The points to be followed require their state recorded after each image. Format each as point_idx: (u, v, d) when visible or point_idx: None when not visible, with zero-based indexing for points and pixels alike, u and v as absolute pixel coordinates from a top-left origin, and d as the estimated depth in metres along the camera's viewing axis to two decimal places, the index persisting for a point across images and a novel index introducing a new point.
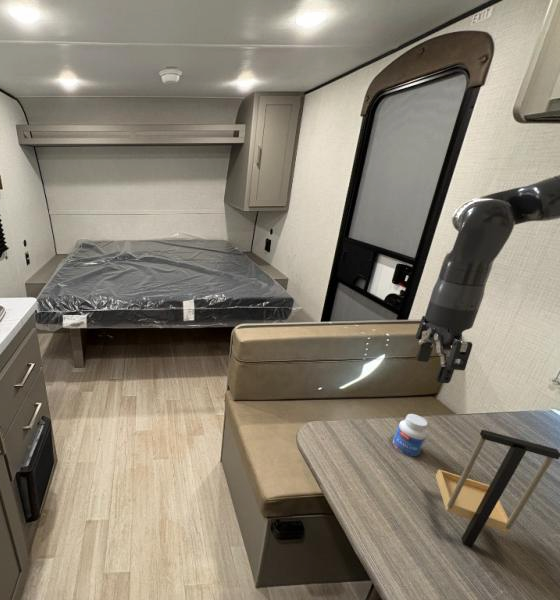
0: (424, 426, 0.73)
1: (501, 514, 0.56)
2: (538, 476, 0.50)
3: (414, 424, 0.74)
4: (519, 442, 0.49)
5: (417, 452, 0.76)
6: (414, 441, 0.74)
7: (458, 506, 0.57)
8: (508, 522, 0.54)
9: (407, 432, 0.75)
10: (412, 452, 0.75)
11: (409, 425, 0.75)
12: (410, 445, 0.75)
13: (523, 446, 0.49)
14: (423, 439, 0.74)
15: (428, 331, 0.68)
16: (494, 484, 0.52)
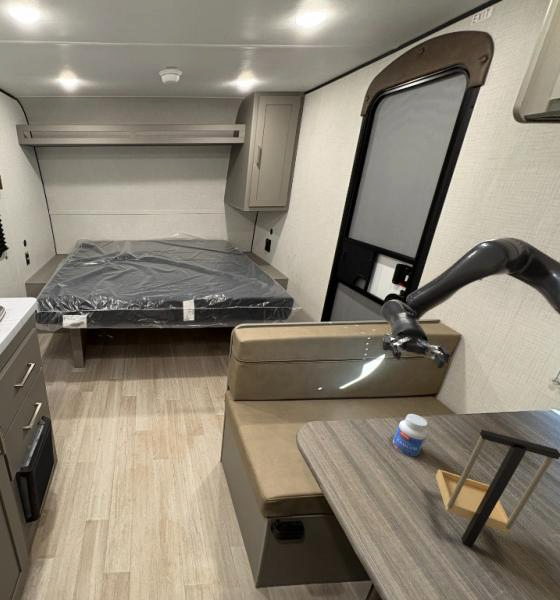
0: (424, 426, 0.73)
1: (501, 514, 0.56)
2: (538, 476, 0.50)
3: (414, 424, 0.74)
4: (519, 442, 0.49)
5: (417, 452, 0.76)
6: (414, 441, 0.74)
7: (458, 506, 0.57)
8: (508, 522, 0.54)
9: (407, 432, 0.75)
10: (412, 452, 0.75)
11: (409, 425, 0.75)
12: (410, 445, 0.75)
13: (523, 446, 0.49)
14: (423, 439, 0.74)
15: None
16: (494, 484, 0.52)
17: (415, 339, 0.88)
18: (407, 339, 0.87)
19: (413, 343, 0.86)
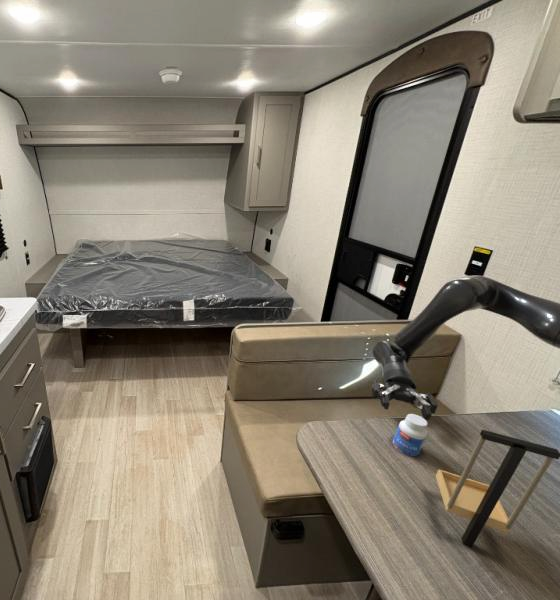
0: (424, 426, 0.73)
1: (501, 514, 0.56)
2: (538, 476, 0.50)
3: (414, 424, 0.74)
4: (519, 442, 0.49)
5: (417, 452, 0.76)
6: (414, 441, 0.74)
7: (458, 506, 0.57)
8: (508, 522, 0.54)
9: (407, 432, 0.75)
10: (412, 452, 0.75)
11: (409, 425, 0.75)
12: (410, 445, 0.75)
13: (523, 446, 0.49)
14: (423, 439, 0.74)
15: None
16: (494, 484, 0.52)
17: (404, 387, 0.91)
18: (396, 387, 0.89)
19: (401, 391, 0.89)
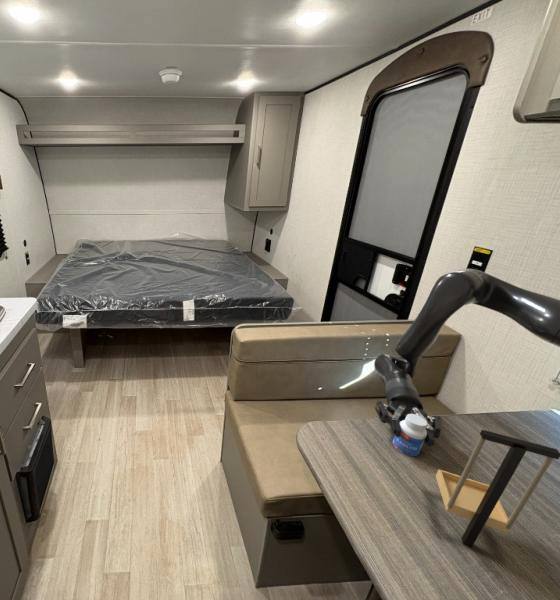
0: (423, 426, 0.73)
1: (501, 514, 0.56)
2: (538, 476, 0.50)
3: (414, 424, 0.74)
4: (519, 442, 0.49)
5: (417, 452, 0.75)
6: (413, 441, 0.74)
7: (458, 506, 0.57)
8: (508, 522, 0.54)
9: (406, 432, 0.75)
10: (412, 452, 0.75)
11: (409, 425, 0.75)
12: (410, 445, 0.75)
13: (523, 446, 0.49)
14: (423, 439, 0.74)
15: None
16: (494, 484, 0.52)
17: (409, 407, 0.83)
18: (401, 408, 0.81)
19: (407, 412, 0.81)
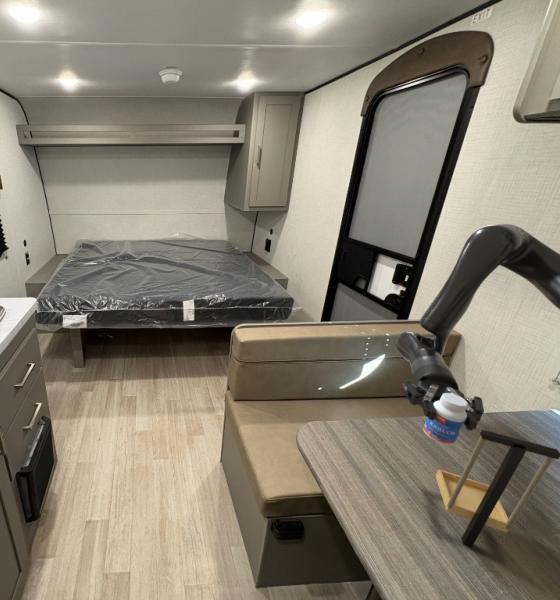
0: (463, 407, 0.62)
1: (501, 514, 0.56)
2: (538, 476, 0.50)
3: (452, 405, 0.63)
4: (519, 442, 0.49)
5: (455, 437, 0.65)
6: (451, 424, 0.64)
7: (458, 506, 0.57)
8: (508, 522, 0.54)
9: (443, 414, 0.64)
10: (449, 437, 0.65)
11: (445, 406, 0.64)
12: (447, 429, 0.64)
13: (523, 446, 0.49)
14: (462, 422, 0.63)
15: None
16: (494, 484, 0.52)
17: (443, 386, 0.72)
18: (433, 387, 0.71)
19: (440, 393, 0.70)
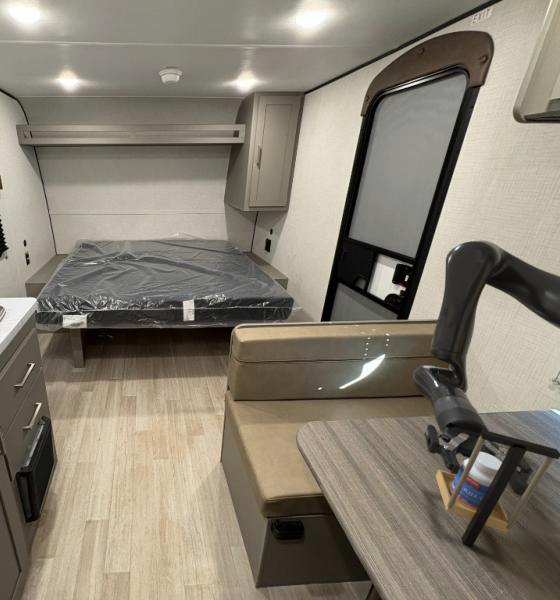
0: None
1: (501, 514, 0.56)
2: (538, 476, 0.50)
3: (487, 468, 0.55)
4: (519, 442, 0.49)
5: None
6: (486, 490, 0.55)
7: (458, 506, 0.57)
8: (508, 522, 0.54)
9: (475, 477, 0.56)
10: None
11: (479, 468, 0.56)
12: (480, 495, 0.56)
13: (523, 446, 0.49)
14: None
15: None
16: (494, 484, 0.52)
17: (473, 436, 0.63)
18: (463, 438, 0.62)
19: (472, 445, 0.61)
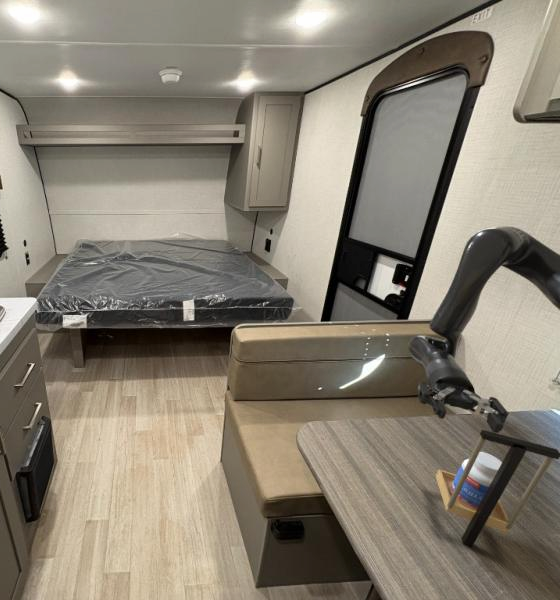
0: None
1: (501, 514, 0.56)
2: (538, 476, 0.50)
3: (487, 468, 0.55)
4: (519, 442, 0.49)
5: None
6: (486, 490, 0.55)
7: (458, 506, 0.57)
8: (508, 522, 0.54)
9: (475, 477, 0.56)
10: None
11: (479, 468, 0.56)
12: (480, 495, 0.56)
13: (523, 446, 0.49)
14: None
15: None
16: (494, 484, 0.52)
17: (459, 389, 0.73)
18: (450, 390, 0.71)
19: (457, 395, 0.71)
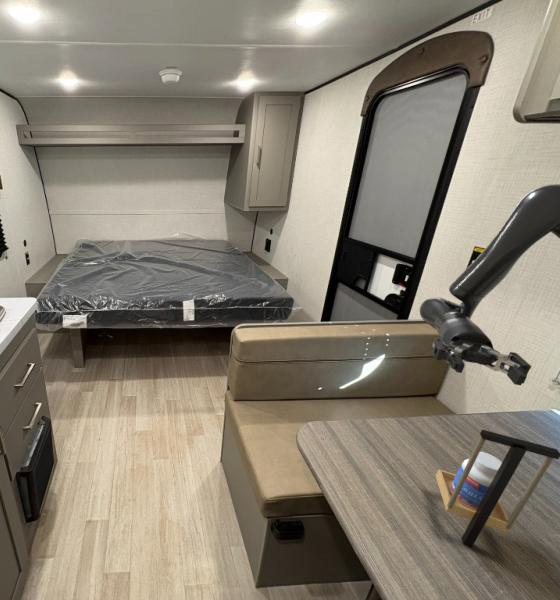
0: None
1: (501, 514, 0.56)
2: (538, 476, 0.50)
3: (487, 468, 0.55)
4: (519, 442, 0.49)
5: None
6: (486, 490, 0.55)
7: (458, 506, 0.57)
8: (508, 522, 0.54)
9: (475, 477, 0.56)
10: None
11: (479, 468, 0.56)
12: (480, 495, 0.56)
13: (523, 446, 0.49)
14: None
15: None
16: (494, 484, 0.52)
17: (476, 346, 0.69)
18: (467, 346, 0.67)
19: (475, 351, 0.67)
